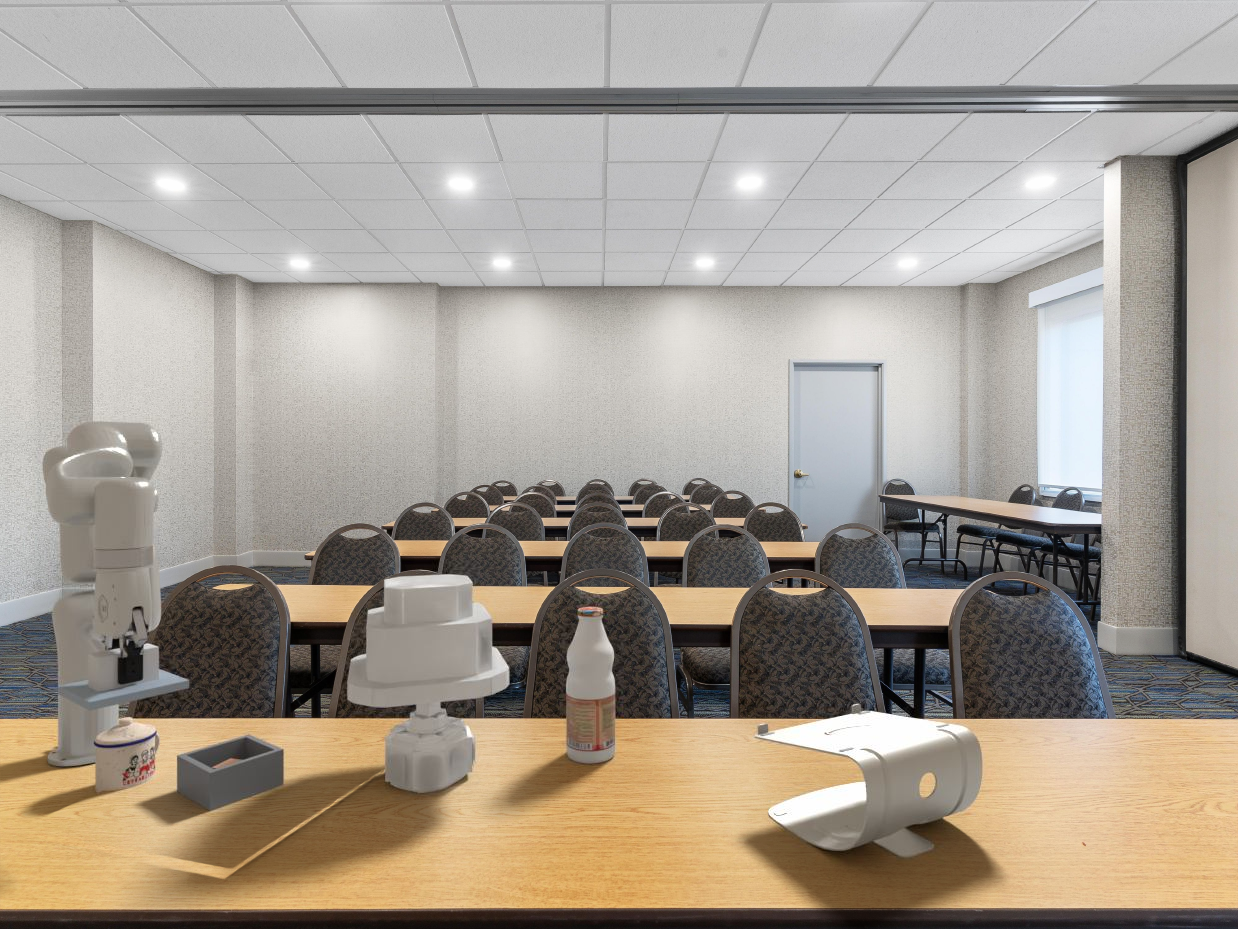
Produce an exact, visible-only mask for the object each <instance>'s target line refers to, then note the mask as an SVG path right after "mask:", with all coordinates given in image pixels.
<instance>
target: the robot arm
mask: <svg viewBox="0 0 1238 929" xmlns="http://www.w3.org/2000/svg"><path fill="white" fill-rule="evenodd" d="M67 436H68V437H67V439H66V445H59V446H55V447H52V448H50V449H49V450H47V451H46V452H45V453H44V455H43V458H42V474H43V479H44V483H45V497H46V501H47V508H48V512H49V514H50V516H51V518H52V519H53V520H54V522H56V523H57V524H58V525H59V546H60V547H59V551H60V554H59V555H60V556H59V557H60V569H61V574H62V577H63V579H64V580H65V581H66V582H68V583H70V584H76V585H84V584H85V585H86V584H94V589H92V590H83V591H82V590H80V591H76V592H71V593H68V594H66V595H64V596H62V597H60V598H59V599H58V600H57V601H56V602H55V603H54V605H53V607H52V610H51V613H52V614H51V619H52V626H53V632H54V636H55V637H54V638H55V642H56V644H55V645H56V649H57V687H58V686H60V685H65V684H70V683H75V682H80V681H85V680H88V654H90V653H95V652H101V651H107V650H112V649H118V648H120V655H121V657H119V658H118V684H120V685H123V684H127V683H132V682H137V681H141V680H142V679H143V654H144V644H146V642H147V641H148V633H149V632H152V631H154V630H155V629H157V627H158V626H159V624H160V622H161V617H162V600H161V599H162V598H161V597H162V596H161V581H160V580H161V578H160V562H159V561H160V560H159V551H158V547H157V544H156V542H155V540H154V514H155V513H156V511H157V510H158V503H159V496H158V495H159V493H158V489H157V487H156V486H154V484H153V483H152V482H151V481H150V480H151V479H152V478H153V475H154V473H155V471H156V469H157V468H158V465H159V463H160V461H161V458H162V455H163V443H162V438H161V436H160V433H159V431H158V430H157V429H156V428H155V427H154V426H152V425H151V424H148V423H144V422H126V421H124V422H123V421H101V420H100V421H89V422H88V421H87V422H83V423H81V424H78V425H76V426H75V427H73V429H71V431H70V432H69V433H68V435H67ZM103 640H105V641H104V643H103ZM119 706H120V704H117V705H113V706H109V707H104V708H100V709H95V710H91V711H89V710H87V709H85V708H83V707H82V706H80V705H78V704H76V703H74V702H72V701H70V700H68V699H66V698H65V697H63V696H61V695H59V694H58V693H57V748H55V749H53V750H51V751H50V752H49V753H48V754H47V762H48V764H49V765H51V766H55V767H73V766H74V767H77V766H83V765H89V764H94V763H95V745H94V741H95V738H96V737H97V736H98V735H99V734H101V733H102V732H104V731H107V730H110V729H111V728H112V727H114V726H116V725H118V724H119V720H120V719H119V714H120V712H119V710H120V708H119Z"/></svg>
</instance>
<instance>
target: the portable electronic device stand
mask: <svg viewBox="0 0 1238 929" xmlns="http://www.w3.org/2000/svg"><path fill="white" fill-rule="evenodd" d="M754 738H755V739H756V740H757V739H758V740H763V741H766V742H773V743H776V744H777V743H778V744H781V745H786V746H791V747H796V748H800V749H804V750H810V751H814V752H819V753H823V754H824V753H825V754H827V755H828V754H829V755H834V756H839V757H843V758H847V759H850V760H851V761H854V763H856V765H857V766H858V767H859V768H860V771H861V773H862V775H863V778H864V781H857V782H851V783H845V784H840V785H839V784H838V785H835V786H830V787H826V788H822V789H818V790H814V791H811V792H807V793H803V794H801V795H797V796H795V797H792V798H788V799H787V800H784V801H782V802H779V803H777V804H774V805H772V806H770V808H769V809H768V810H767V814H768V816H769V817H770V819H771V820H773V821H774V822H775V823H777V824H778V825H780V826H781V827H783V828H784V829H786V830H787V831H789V832H791V833H792V835H795V836H796V837H798V838H799V839H800V840H802V841H804V842H806V843H808V844H810V845H813V846H815V847H817V848H820V849H823V850H829V851H834V852H835V851H836V852H839V851H840V852H841V851H843V852H844V851H848V850H851V849H854V848H858V847H860V846H863V845H865V844H869V843H873V844H875V845H877V846H878V847H880V848H882V849H884V850H886V851H887V852H889V853H890V854H892V855H895V856H896V857H899V858H903V859H909V858H913V857H916V856H919V855H922V854H924V853H927V852H930V851H932V850H933V849H934V846H935V845H934V844H933V842H932V841H930V840H928V839H926V838H924V837H923V836H922V835H919V834H917V833H916V832H914V831H912V830H910V829H909V828H907V827H909V826H912V825H923V824H927V823H931V822H935V821H937V820H940V819H943V818H945V817H949V816H952V815H955V814H958V813H961V812H964V811H966V810H967V809H968V808H969V807H971V806H972V804H973V803H974V802H975V801H976V800H977V798H978V794H979V793H980V789H981V786H982V780H983V755H982V754H983V753H982V747H981V745H980V744H981V743H980V742H979V739H978V737H977V736H976V735H975V733H974V732H973V731H971V730H970V729H969V728H968V727H965V726H963V725H958V724H953V723H945V722H940V721H933V720H926V719H921V718H914V717H910V716H909V717H908V716H902V715H897V714H890V713H884V712H879V711H873V710H864V711H862V705H861V703H856V704H853V705H851V713H849V714H845V715H844V714H843V715H841V716H836V717H830V718H827V719H826V718H825V719H822V720H818V721H817V720H816V721H812V722H808V723H803V724H798V725H795V726H789V727H785V728H781V729H777V730H776V729H775V730H772V731H769V724H768V723H761V724H758V725H757V733H756V734H755V735H754ZM929 773H930V774H932V775H933V777H934V780H935V786H934V789H933V790H932V791H931V793H930V794H929V795H928V796H925V797H924V796H922V795H921V793H920V786H921V782H922V778H923V777H924V776H925V775H926V774H929Z"/></svg>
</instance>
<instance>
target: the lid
mask: <svg viewBox="0 0 1238 929" xmlns="http://www.w3.org/2000/svg"><path fill="white" fill-rule="evenodd" d="M119 657H121V655H120V648H118V649H112V650H107V651H101V652H95V653H90V654H88V680H85V681H80V682H75V683H70V684H65V685H60V686H58V685H57V695H58V694H59V695H61V696H63V697H65V698H66V699H68V700H70V701H72V702H74V703H76V704H78V705H80V706H82V707H83V708H85V709H87V710H89V711H91V710H95V709H100V708H104V707H109V706H113V705H117V704H119V705H120V704H125V703H130V702H134V701H138V700H143V699H147V698H153V697H155V696H161V695H165V694H168V693H173V692H177V691H178V692H179V691H182V690H187V689H190V679H188V678H184V677H181V676H179V675H176V674H173V673H171V672H170V671H169V672H168V671H166V670H163V669H160V661H159V660H160V647H159V646H158V645H155V644H151V643H145V644H144V654H143V679H142V680H141V681H137V682H132V683H127V684H123V685H120V684H118V658H119Z"/></svg>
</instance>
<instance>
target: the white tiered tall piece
mask: <svg viewBox="0 0 1238 929" xmlns="http://www.w3.org/2000/svg"><path fill="white" fill-rule="evenodd" d="M383 581H384V582H383V589H384V590H383V606H381V607H376V608H371V609H368V610H367V616H366V627H365V628H366V629H365V633H366V634H365V637H366V640H365V642H366V643H365V644H366V645H365V646H366V648H365V649H366V650H365V652H366V653H364V654H363V653H362V654H359V655H357V656H355V657H353V658H351V659H350V663H349V669H348V674H347V675H348V676H347V681H346V684H347V687H346V690H347V691H346V694H347V695H346V696H347V698H346V699H347V701H349V702H351V703H352V704H357V705H361V706H366V707H371V708H394V707H395V708H396V707H402V706H404V707H405V706H413V705H415V706H416V707H415V708H416V709H415V710H414V711H411V712H410V713H409V719H407V720H405V721H403V722H401V723H398V724H394V725H393V727H392V728H391V729H389V730H390V731H389V732H390V733H389V734H386V735H384V737H385V738H384V744H385V745H384V746H385V747H384V750H385V751H384V753H385V754H384V758H385V759H384V763H385V764H384V766H385V767H384V770H385V771H384V773H385V774H384V776H385V777H384V778H385V783H389V782H390V785H391V786H393V787H394V788H397V789H400V790H401V789H402V790H406V791H409V792H412V791H413V792H414V793H416V792H417V794H421V793H422V794H423V793H429V792H436V791H437V790H438V791H443V790H444V789H447V788H448V787H450V786H451V785H453V784H455V783H457V782H459V781H460V780H461V779H463V778H464V777H465V776H467V775H468V773H473V765H474V763H476V740H475V737H474V734H473V733H472V732H471V730H470V726H468V725H466V723H465V721H464V720H462V719H461V718H458V717H453V716H448V713H447V709H446V708H441V703H443V702H455V701H464V700H471V699H480V698H484V697H488V696H492V695H495V694H496V693H499V692H501V691H503V690H505V689H507V687H509V685H510V667H509V665H508V664H507V662H506V660H505V659H504V657H503V655H502V654H501V653H500V650H499V649H498V648H497V647H495V646H493V617H492V616H491V615H490V613H489V612H488V610H487V609H486V608H485V607H484V606H483V604H482V603H479V602H474V601H473V600H474V597H473V595H474V592H473V591H474V589H473V586H474V585H473V583H474V582H473V581H472V580H471V578H469V576H468V575H461V574H452V573H449V574H430V575H429V574H427V575H424V574H423V575H407V576H406V575H405V576H403V575H402V576H396V577H390V578H385V579H384V580H383Z"/></svg>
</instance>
